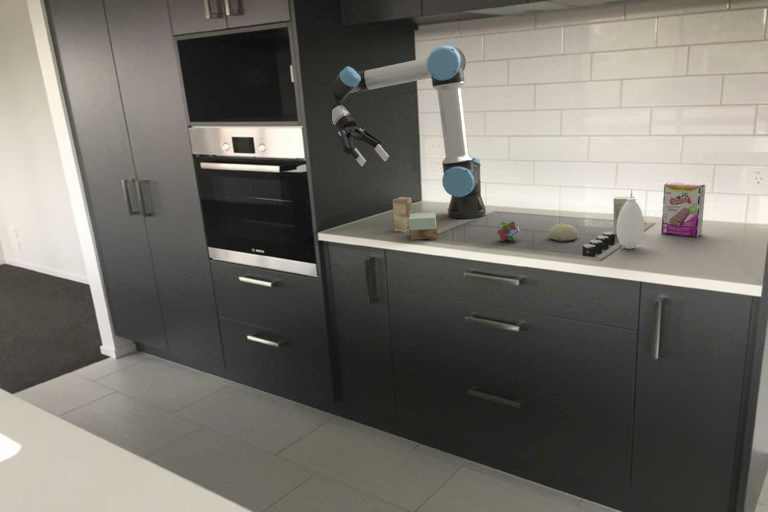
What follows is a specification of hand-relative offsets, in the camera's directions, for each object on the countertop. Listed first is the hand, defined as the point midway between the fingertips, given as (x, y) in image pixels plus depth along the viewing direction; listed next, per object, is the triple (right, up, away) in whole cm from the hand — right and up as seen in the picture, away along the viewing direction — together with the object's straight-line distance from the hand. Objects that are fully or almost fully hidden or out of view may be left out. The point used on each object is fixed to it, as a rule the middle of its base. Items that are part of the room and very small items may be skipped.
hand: (375, 161), depth 233 cm
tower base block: (+17, -29, -11) cm, 35 cm away
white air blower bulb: (+78, -33, -43) cm, 95 cm away
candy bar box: (+99, -28, -32) cm, 108 cm away
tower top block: (+17, -25, -12) cm, 33 cm away
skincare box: (+82, -28, -26) cm, 91 cm away
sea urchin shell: (+62, -30, -27) cm, 74 cm away
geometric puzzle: (+44, -30, -25) cm, 59 cm away
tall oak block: (+11, -26, 0) cm, 28 cm away
